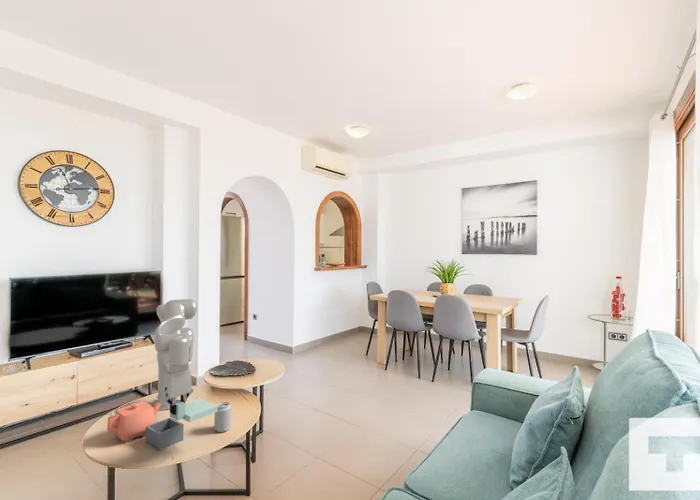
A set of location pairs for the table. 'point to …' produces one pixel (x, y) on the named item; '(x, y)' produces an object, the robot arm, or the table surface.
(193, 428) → the table surface
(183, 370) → the robot arm
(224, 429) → the can
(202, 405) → the mint green stepped block
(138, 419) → the teapot
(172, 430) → the tub
